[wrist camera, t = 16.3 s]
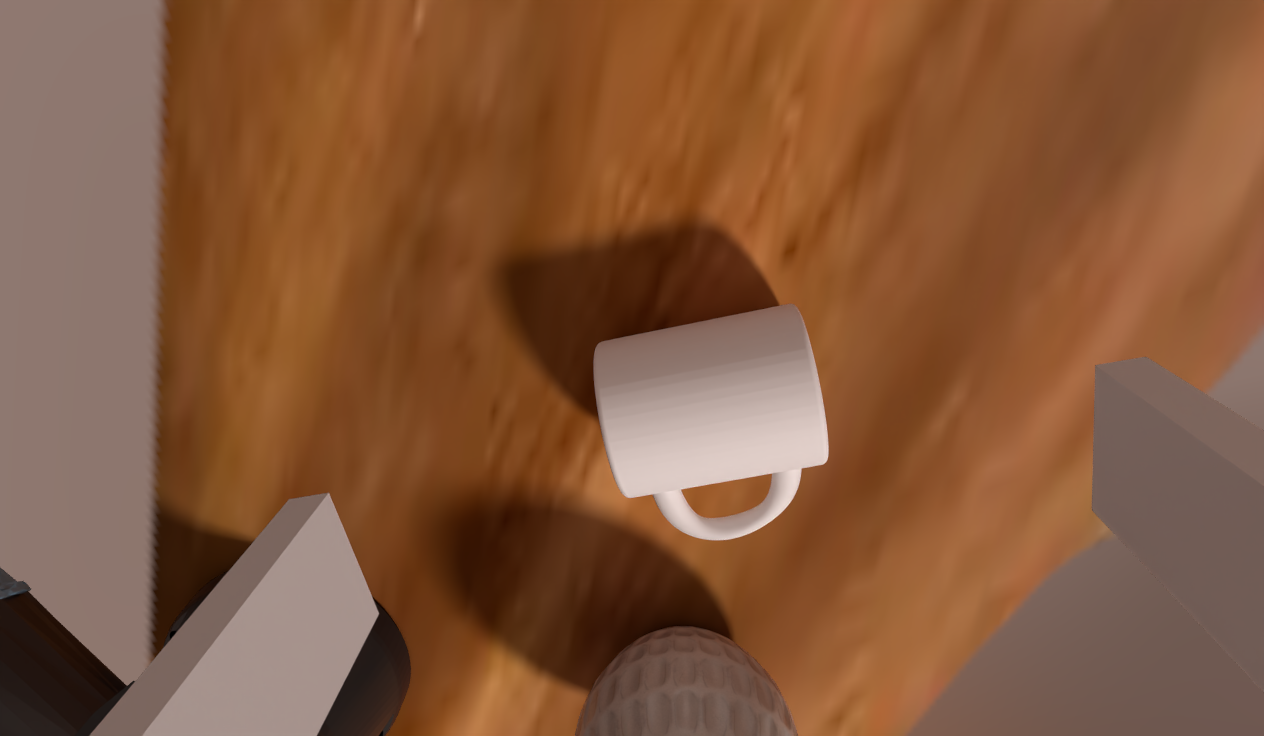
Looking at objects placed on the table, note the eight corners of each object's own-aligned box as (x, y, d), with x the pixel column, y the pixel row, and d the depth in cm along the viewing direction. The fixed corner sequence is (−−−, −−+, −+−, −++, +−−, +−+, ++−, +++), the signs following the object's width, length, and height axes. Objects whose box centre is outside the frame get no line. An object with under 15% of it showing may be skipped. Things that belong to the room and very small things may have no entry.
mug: (600, 321, 40) (585, 380, 33) (786, 283, 39) (814, 335, 32) (648, 508, 45) (644, 598, 37) (816, 479, 43) (847, 566, 36)
